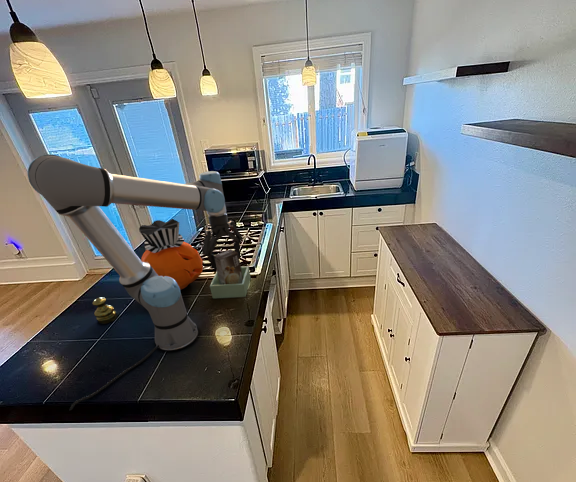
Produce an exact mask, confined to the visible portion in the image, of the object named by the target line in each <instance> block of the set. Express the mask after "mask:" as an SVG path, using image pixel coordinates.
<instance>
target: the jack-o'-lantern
mask: <svg viewBox="0 0 576 482" xmlns="http://www.w3.org/2000/svg"><path fill="white" fill-rule="evenodd" d="M138 232H139V234H140V235H141V236H142V237H143V239H144V240H145V241H144V244H143V245H144V250H145V251H144V252H143V253H142V255H141V259H140V260H141V261H142V262H147V263H149V264H150V265H151V267H152V268H153V269H154V271H155V272H156V273H157V275H158V276H163V277H164V276H168V277H171V278H173V279H174V280H175V281H176V282H177V284H178V286H179V288H180V291H181V290H182V291H183V290H184V289H186V288H187V287H188V285H190V284H193V283H194V282H195V281H196V280H197V279H198V278H199V277H200V276H201V274H202V273H203V270H204V265H203V264H204V263H203V262H204V260H203V258H202V257H201V255H200V253H199V251H198V250H197V249H196V248H194V247H193V246H192V245H191V244H190V243H189V242H186V239H185V238H184V236H183V235H182V234H180V222H179V221H178V220H176V219H174V218H170V219H169V220H168V221H163V220H161V219H156V220H154V221H153V222H152V223H151V224H148V225H147V224H141V225H140V226H139V228H138Z"/></svg>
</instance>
